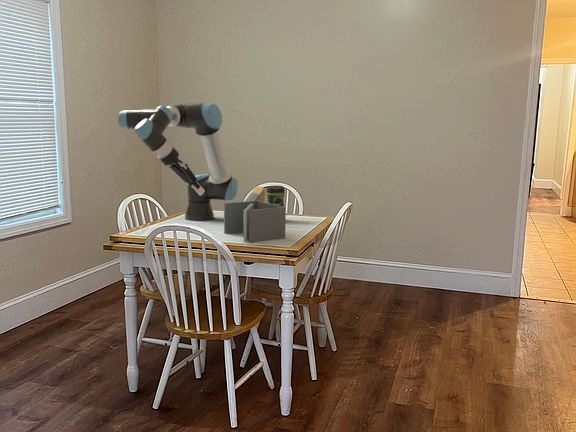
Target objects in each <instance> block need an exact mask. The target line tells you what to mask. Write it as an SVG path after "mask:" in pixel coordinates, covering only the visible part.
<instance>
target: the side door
mask: <svg viewBox="0 0 576 432" xmlns="http://www.w3.org/2000/svg"><path fill="white" fill-rule="evenodd" d="M249 210H254V204H250V205H249V206H248V207H247V208H246V209H245V210H244V232H243V242H244V243H247V242H249Z"/></svg>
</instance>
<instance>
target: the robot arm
mask: <svg viewBox="0 0 576 432" xmlns="http://www.w3.org/2000/svg"><path fill="white" fill-rule="evenodd" d="M222 118H223V115H222V111H221V110H220V108H219V106H218V105H216V104H215V103H209V102H202V103H199V102H198V103H197V102H196V103H195V102H194V103H193V102H192V103H189V102H188V103H187V102H186V103H179V104H174V105H168V106H165V105H159V106H157V107H156V108H151V109H150V108H149V109H137V110H134V109H132V110H130V109H127V110H126V109H125V110H121V111H120V112H119V113H118V115H117V124H118V125H119V127H120V128H121V129H125V130H134V133H135V134H136V136H138V138H139V140H141V141H142V143H144V144H145V146H147V147H148V149H149V150H150V151H151V152H152V153H153V156H155V157H157V158H158V159H159V161H160V162H161V163H162V164H163V166H166V167H167V166H168V168H169V169H170V170H171V171H173V172H174V173H175V174H176V175H177V176H178V177H179V178H180V179H181V180H182V181H183V182H184V183H187V207H186V210H185V214H184V219H185V220H189V221H208V220H209V221H210V220H213V219H215V214H214V210H213V207H212V205H211V200H219V201H232V200H234V199H235V197H236V195H237V193H238V187H239V186H238V185H239V183H238V179H237V178H235V177H232V173H231V172H230V171H228V169H227V165H226V161H225V156H224V153H223V149H222V144H221V140H220V137H219V133H218V132H219V131H220V129H221V126H222V123H223V119H222ZM168 127H171V128H173V127H176V128H177V127H178V128H186V129H194V130H195V131H194V132H195V134H196V135H198V136H199V137H200V141H201V144H202V148H203V151H204V156H205V159H206V162H207V166H208V170H209V173H205V174H204V173H203V174H197V175H195V174H194V173H193V171H192V170H191V169H190V167H189V165H188V164H187V163H185V164H184V162H183V161H182V160H181V159H179V156H180V153H179V152H178V151H177V150H176V149H175V147H174V146H173V145H172V143H171V142H170V141H169V140H168V139H167V138H166V137H165V136H164V135H163V134H164V132H165V131H166V129H167V128H168Z"/></svg>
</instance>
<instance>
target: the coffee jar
mask: <svg viewBox="0 0 576 432" xmlns="http://www.w3.org/2000/svg"><path fill="white" fill-rule="evenodd" d="M285 193H286V191H285V186H283V185H276V184H275V185H267V186H266V189H265V195H266V197H267V198H266V199H267V200H266V201H267V202H266V203H270V204H274V205H278V206H282V207H285V204H284V197H285Z"/></svg>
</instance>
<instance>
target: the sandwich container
mask: <svg viewBox="0 0 576 432" xmlns="http://www.w3.org/2000/svg"><path fill="white" fill-rule="evenodd" d="M265 195H266V189H265V187H262V186H254V187H253V190H251V192H250V194H249V195H248V196H247V197H246V199H245V200H244V201H243V202H247V201H261V202H266V201H265V199H266V198H265V197H266V196H265Z"/></svg>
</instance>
